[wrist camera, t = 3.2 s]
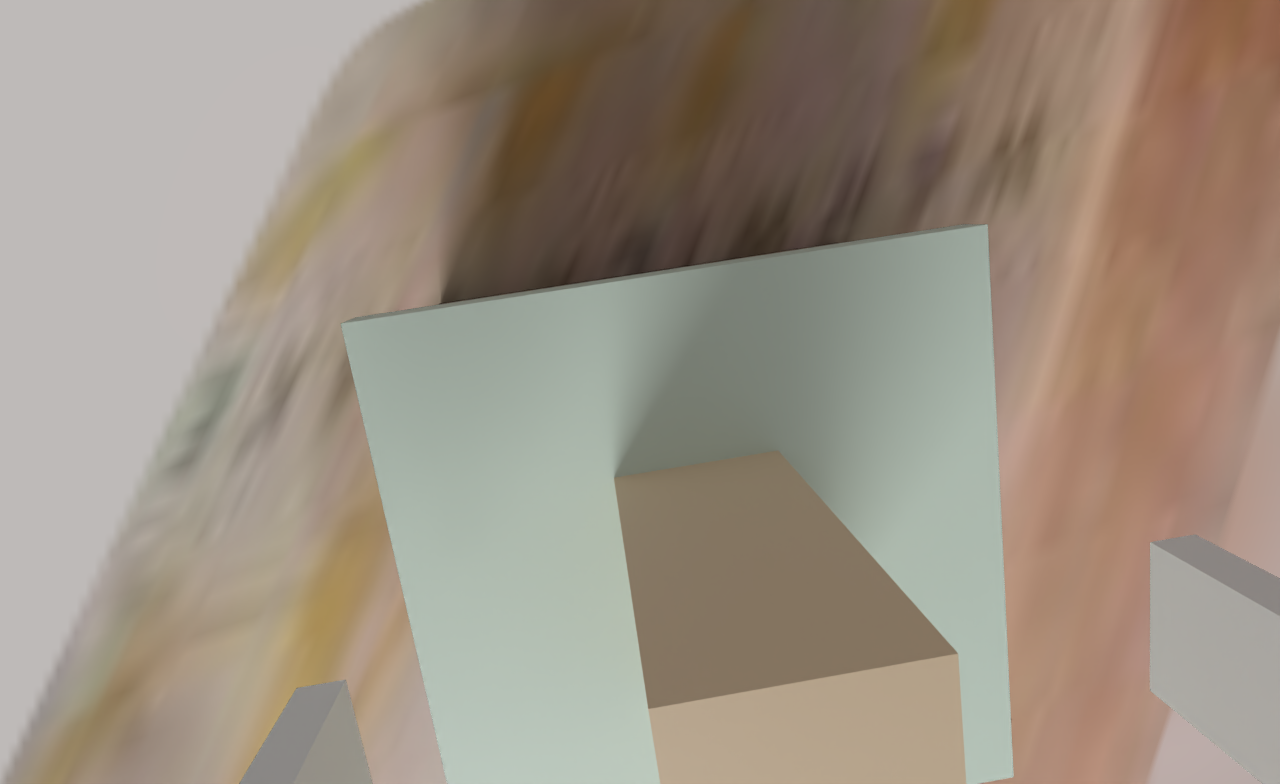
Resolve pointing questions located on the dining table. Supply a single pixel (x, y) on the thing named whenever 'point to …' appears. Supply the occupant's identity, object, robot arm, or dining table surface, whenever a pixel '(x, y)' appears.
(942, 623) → the lid
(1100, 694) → the dining table surface
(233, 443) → the dining table surface
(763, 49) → the dining table surface
